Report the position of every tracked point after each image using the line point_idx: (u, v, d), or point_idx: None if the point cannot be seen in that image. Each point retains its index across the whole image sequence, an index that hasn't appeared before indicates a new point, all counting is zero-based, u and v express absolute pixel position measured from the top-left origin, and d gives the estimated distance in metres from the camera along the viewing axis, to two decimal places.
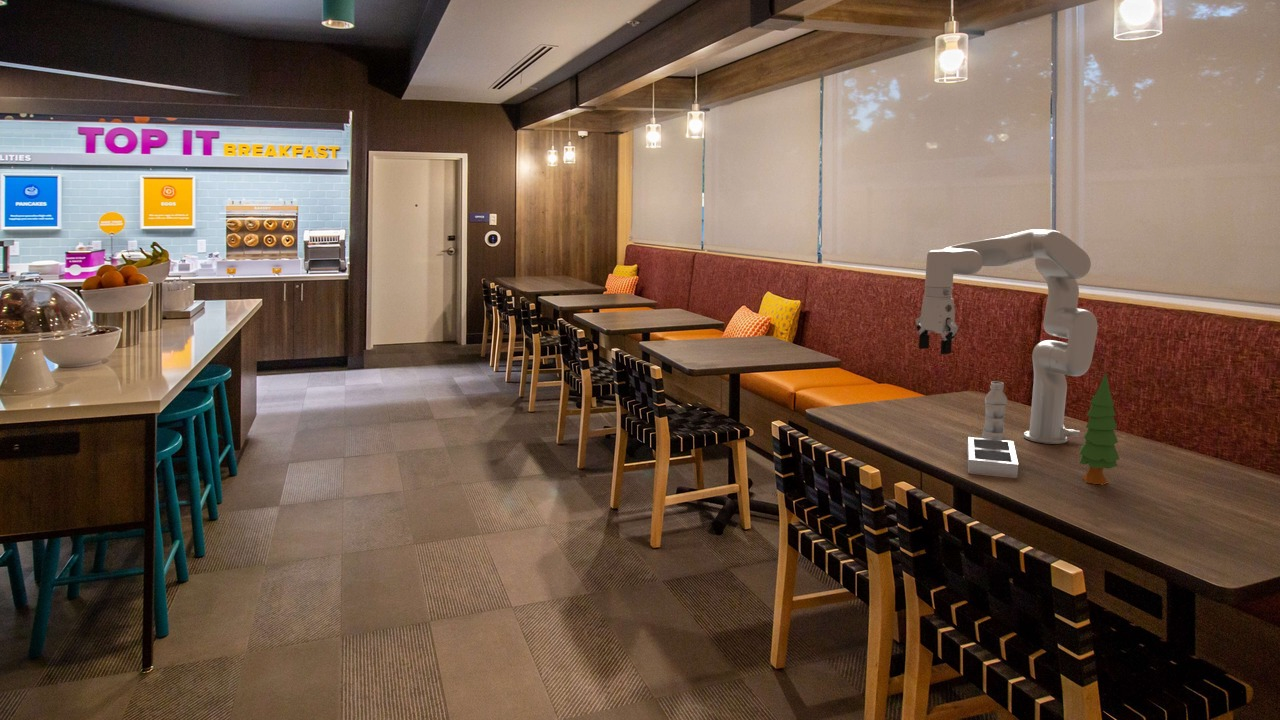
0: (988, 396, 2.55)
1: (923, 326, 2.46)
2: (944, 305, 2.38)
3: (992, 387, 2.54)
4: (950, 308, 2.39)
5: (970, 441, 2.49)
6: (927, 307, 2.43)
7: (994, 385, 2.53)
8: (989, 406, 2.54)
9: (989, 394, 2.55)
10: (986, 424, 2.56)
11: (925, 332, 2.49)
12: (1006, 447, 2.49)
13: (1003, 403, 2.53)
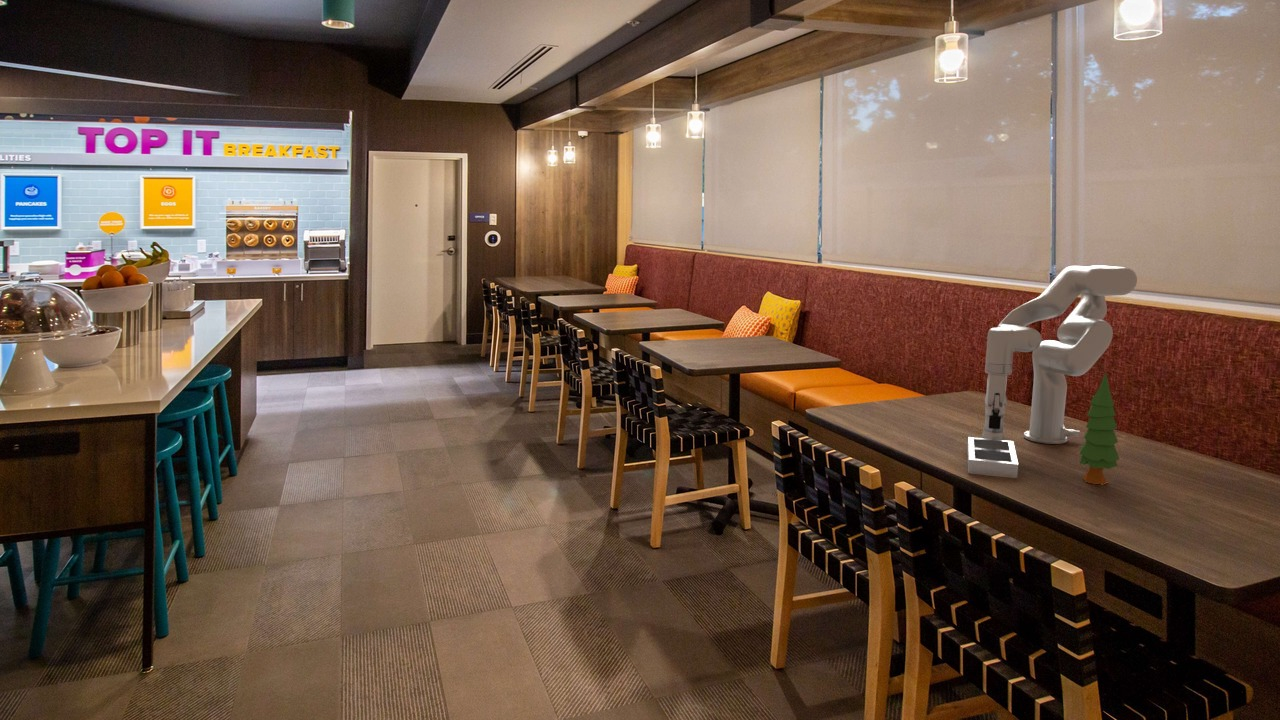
0: None
1: None
2: None
3: None
4: None
5: (970, 441, 2.49)
6: None
7: None
8: (989, 406, 2.54)
9: None
10: (986, 424, 2.56)
11: None
12: (1006, 447, 2.49)
13: None
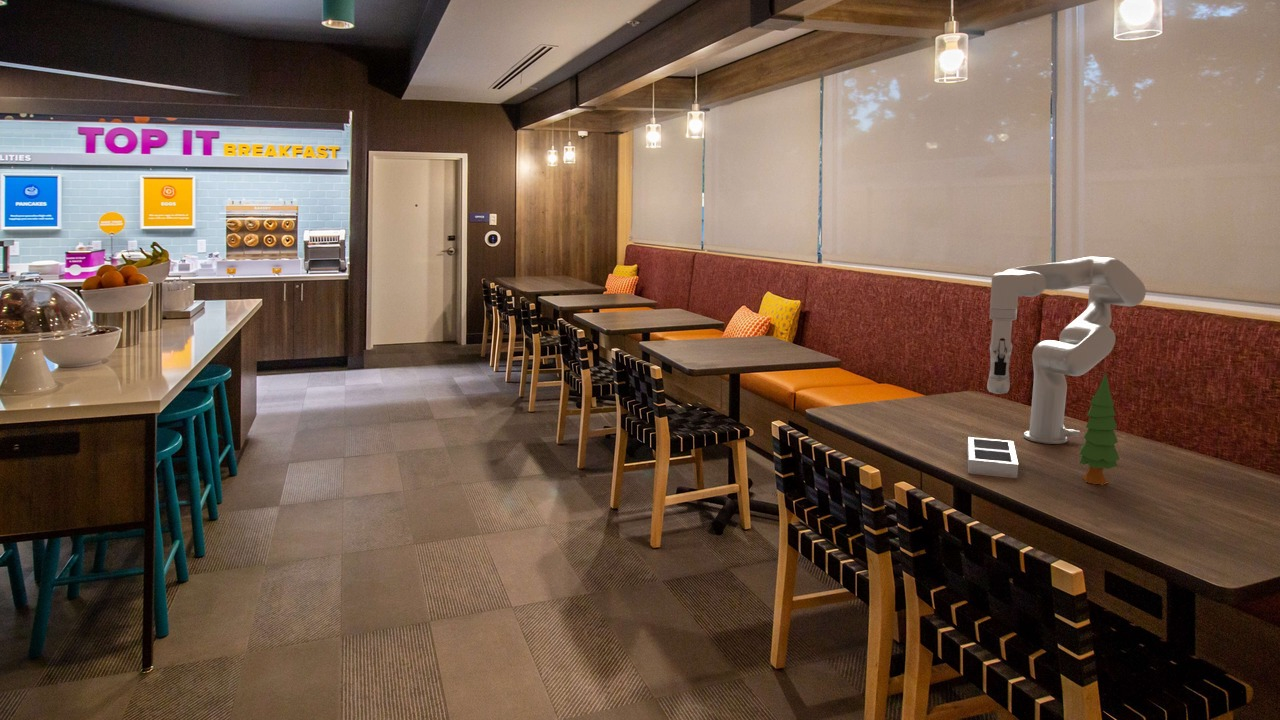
0: None
1: None
2: None
3: None
4: None
5: (970, 441, 2.49)
6: None
7: None
8: (994, 353, 2.51)
9: None
10: (991, 371, 2.54)
11: None
12: (1006, 447, 2.49)
13: None
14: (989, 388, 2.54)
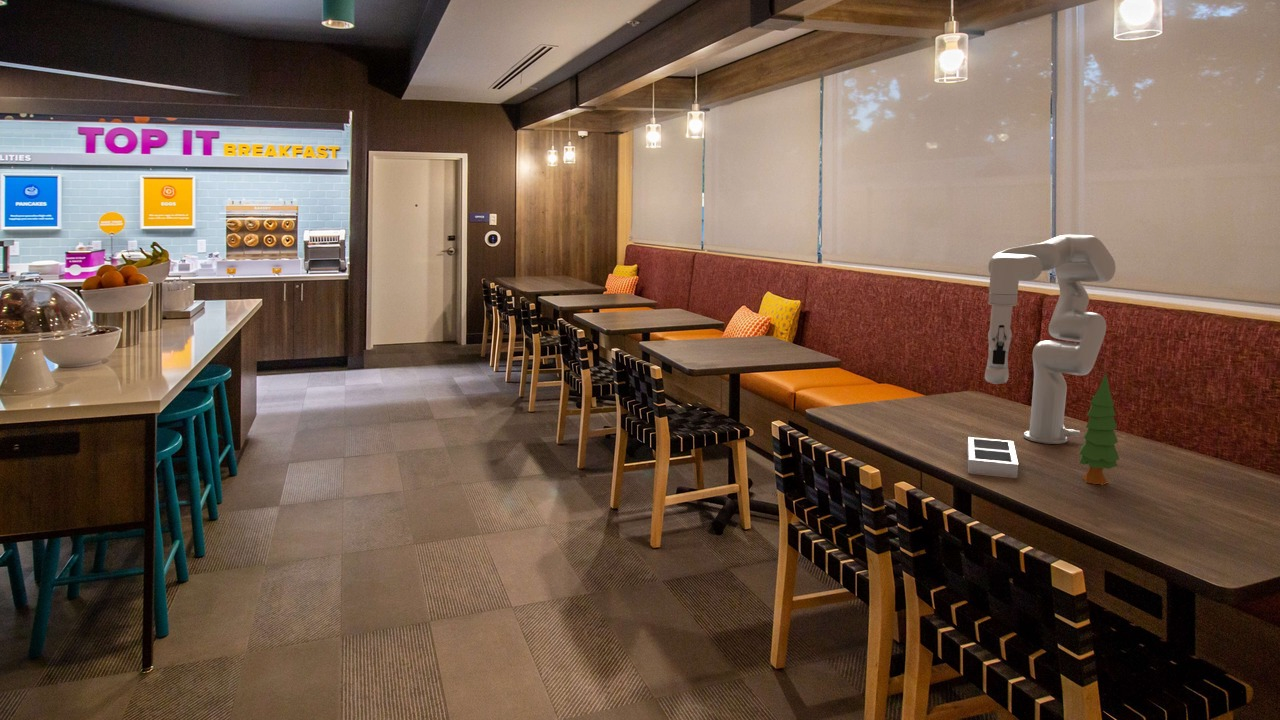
0: None
1: None
2: None
3: None
4: None
5: (970, 441, 2.49)
6: None
7: None
8: (993, 340, 2.38)
9: None
10: (989, 360, 2.41)
11: None
12: (1006, 447, 2.49)
13: None
14: (987, 378, 2.41)
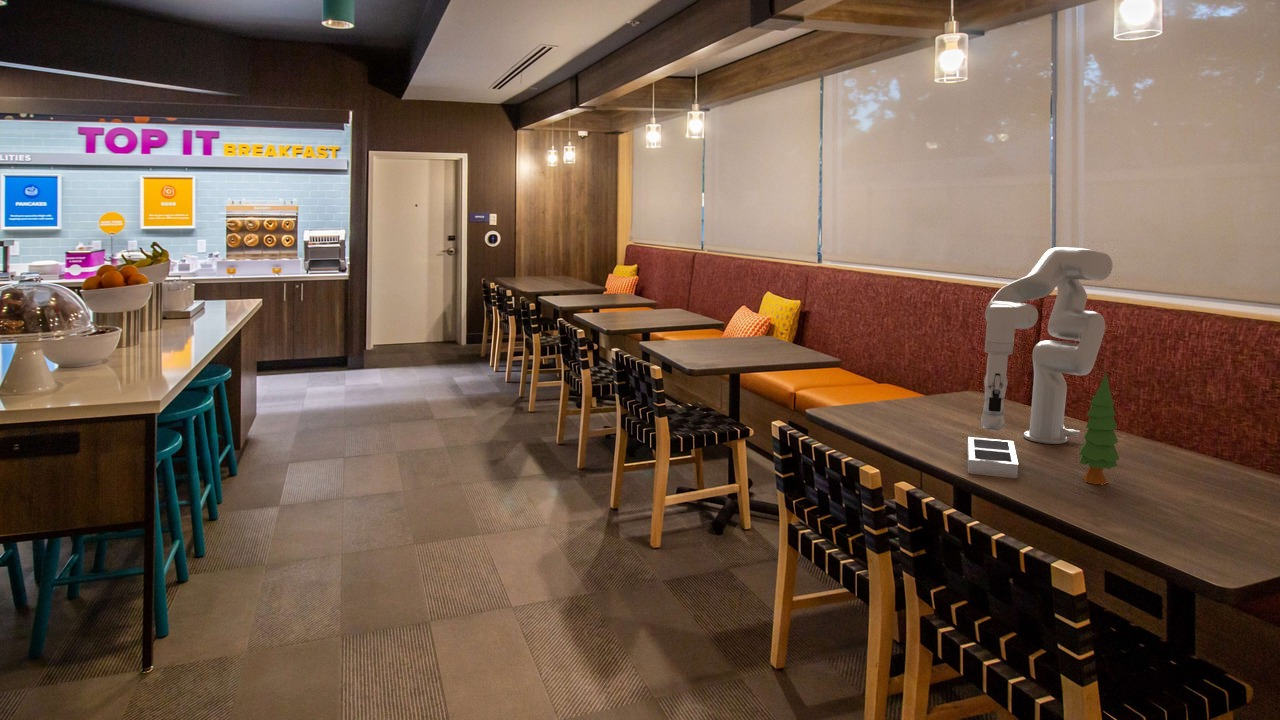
0: None
1: None
2: None
3: None
4: None
5: (970, 441, 2.49)
6: None
7: None
8: (989, 387, 2.41)
9: None
10: (985, 406, 2.43)
11: None
12: (1006, 447, 2.49)
13: None
14: (983, 424, 2.44)
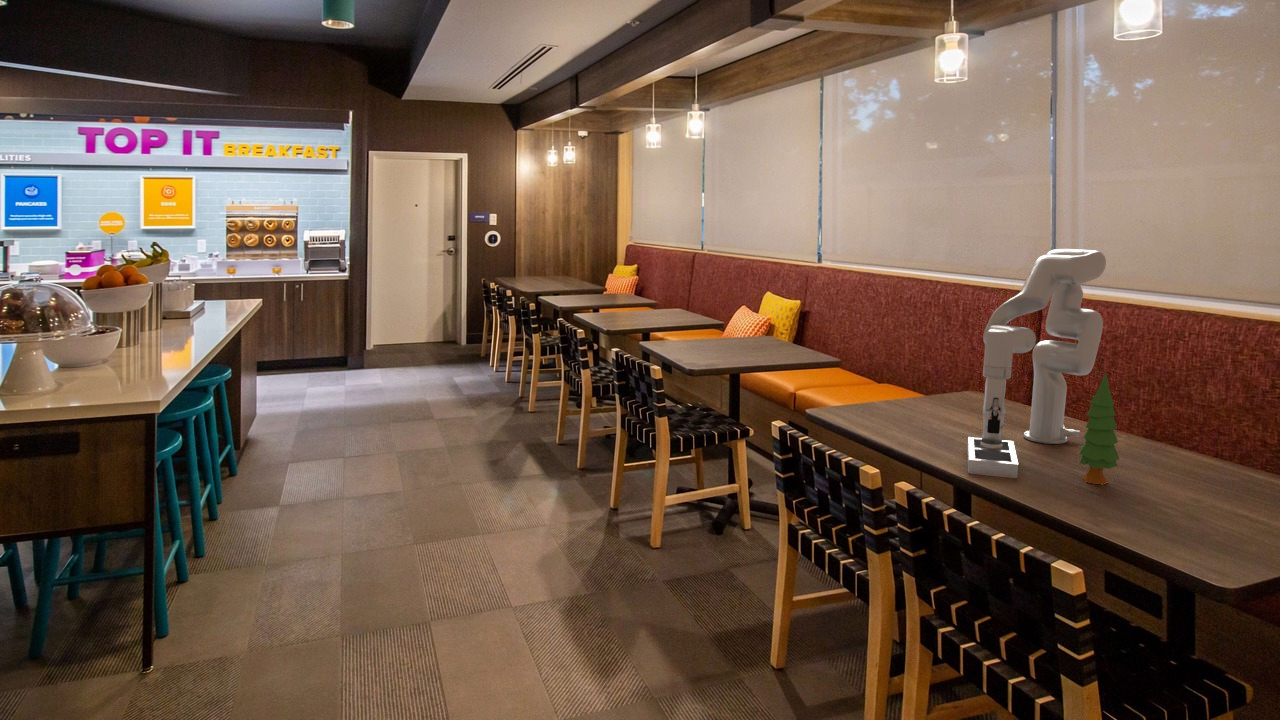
0: None
1: None
2: None
3: None
4: None
5: (970, 441, 2.49)
6: None
7: None
8: (987, 417, 2.42)
9: None
10: (984, 435, 2.44)
11: None
12: (1006, 447, 2.49)
13: (1001, 413, 2.41)
14: None
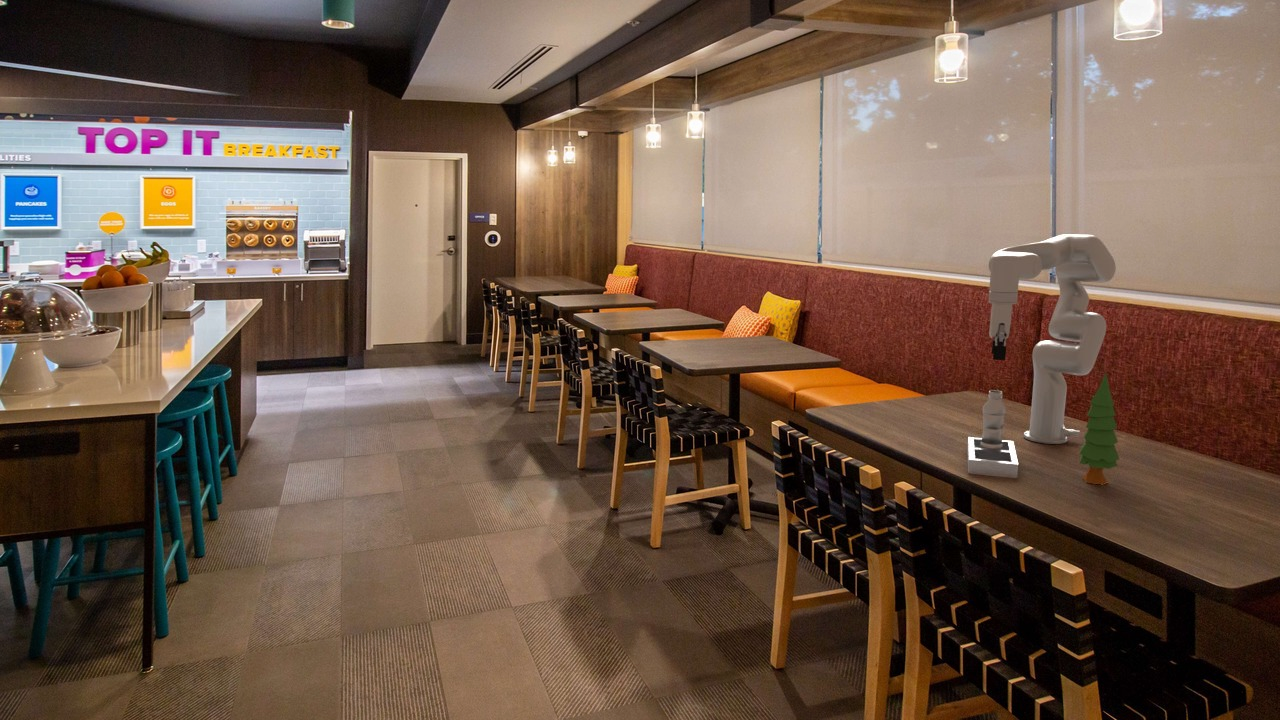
0: (986, 406, 2.43)
1: None
2: None
3: (990, 396, 2.42)
4: None
5: (970, 441, 2.49)
6: (1011, 313, 2.36)
7: (992, 394, 2.41)
8: (987, 417, 2.42)
9: (987, 404, 2.43)
10: (984, 435, 2.44)
11: None
12: (1006, 447, 2.49)
13: (1001, 413, 2.41)
14: None
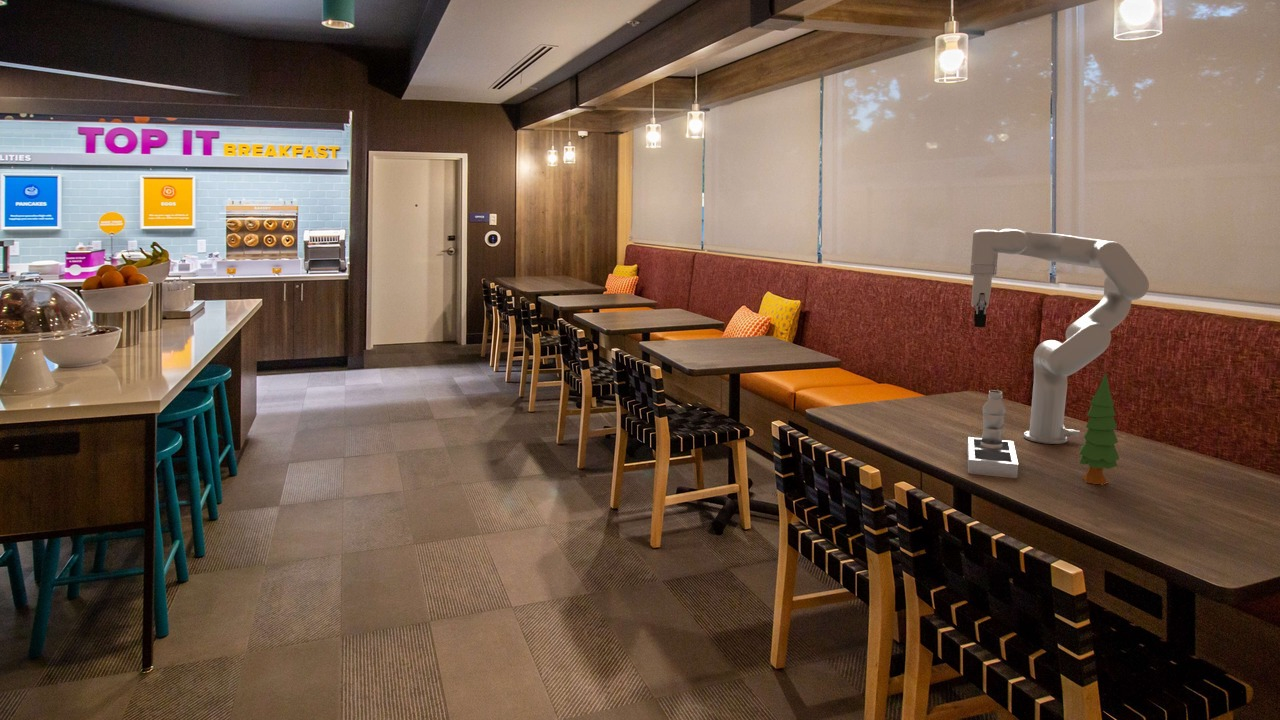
0: (986, 406, 2.43)
1: None
2: None
3: (990, 396, 2.42)
4: None
5: (970, 441, 2.49)
6: None
7: (992, 394, 2.41)
8: (987, 417, 2.42)
9: (987, 404, 2.43)
10: (984, 435, 2.44)
11: None
12: (1006, 447, 2.49)
13: (1001, 413, 2.41)
14: None
